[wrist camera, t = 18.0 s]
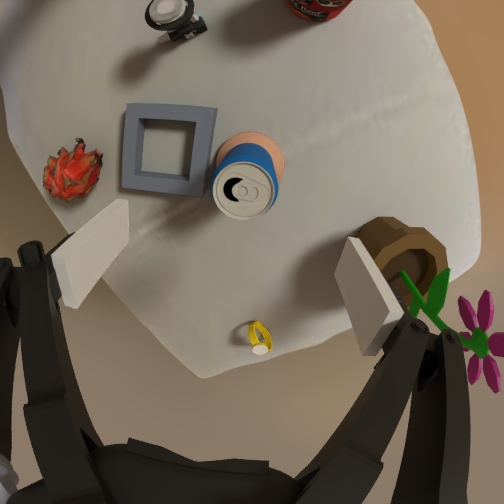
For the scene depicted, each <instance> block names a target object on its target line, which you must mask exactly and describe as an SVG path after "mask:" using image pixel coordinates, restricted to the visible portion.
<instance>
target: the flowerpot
mask: <svg viewBox="0 0 504 504" xmlns="http://www.w3.org/2000/svg"><path fill="white" fill-rule="evenodd" d="M355 238H358V239H360V241H361V242H362V244H363V245H364V247H365V248H366V250H367V251H368V253H369V255H370V256H371V258H372V259H373V261H374V262H375V264H376V266H377V267H378V269H379V270H380V272H381V274H382V275H383V277H384V279H385V280H386V282H387V283H390V284H391V285H392V286H393V287H394V288H395V289H396V290H397V292H398V293H399V295H400V297H401V298H402V300H403V302H404V303H405V305H406V307H407V309H408V310H409V312H410V314H411V316H412V317H413V318H416V317H417V315H418V313H419V309H422V311H423V312H424V313H425V314H426V315H427V316H428V317H429V318H430V319H431V321H432V322H433V323H434V324H435V325H436V326H437V327H438V328H439V329H440V331H441V332H442V330H443V329H446V328H447V329H451V328H450V327H448V326H447V325H446V324H445V323H444V322H443V321H442V320H441V319H440V318H439V317H438V316H437V315H438V313H439V312H440V310H441V309H442V308H443V306H444V302H445V298H446V293H447V289H448V283H449V276H450V270H451V269H450V268H448V263H447V256H446V249H445V247H444V246H443V245H442V244H441V243H440V242H439V241H438V240H437V239H436V238H435V237H434V236H433V235H432V234H430V233H429V232H428V231H427V230H426V229H425V228H421V227H408V226H407V225H405V224H404V223H402V222H401V221H399V220H397V219H396V218H394V217H377V218H375V219H373V220H372V221H370V222H368V223H366V224H364V226H363V227H362V229H361V230H360V231H359V233H358V234H357V236H356V237H355ZM458 305H459V312H460V315H461V318H462V320H463V322H464V324H465V326H466V328H468V329H469V330H471V331H472V336H471V335H470V333H469V332H460V333H457V332H456V331H455V332H456V333H457V334H458V336H459V337H460V339H461V342H462V347H463V351H466V352H467V351H469V350H472V351H473V352H475V354H474V355H473V356H472V357H471V358H470V360H469V364H468V369H467V372H468V381H469V382H470V384H471V385H473V384H474V383H475V382H476V381H477V380H478V379H479V377H480V374H481V370H482V363H481V358H482V359H483V372H484V375H485V378H486V381H487V384H488V386H489V387H490V388H491V389H492V390H493V392H494V393H497V392H499V391H500V386H501V385H500V384H501V375H500V372H499V369H498V366H497V363H496V361H495V360H494V359H493V358H492V357H491V356H490V355H488V353H489V350H490V351H491V353H492V354H493V355H494V356H499V357H504V332H501V333H500V332H499V333H498V332H496V333H494V334H492V335H491V336H490V337H489V338H488V336H487V333H486V331H487V330H488V328H489V327H490V326H491V325H492V320H493V313H494V305H493V301H492V296H491V293H490V292H489V291H487V290H485V291H484V292H483V294H482V296H481V298H480V300H479V302H478V311H477V319H478V323H479V327H477V320H476V314H475V312H474V310H473V308H472V306H471V304H470V302H469V301H468V300H466V299H465V298H464V297H462V296H460V297H459V299H458ZM451 330H453V329H451ZM453 331H454V330H453Z"/></svg>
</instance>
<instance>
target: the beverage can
mask: <svg viewBox="0 0 504 504" xmlns="http://www.w3.org/2000/svg"><path fill="white" fill-rule="evenodd" d="M210 187H211V194H212V198H213V200H214V202H215V204H216V205H217V206H218V208H219V209H220V210H221V211H222V212H223V213H224V214H226V215H227V216H229V217H231V218H234V219H237V220H251V219H255V218H257V217H259V216H261V215H263V214H264V213H266V212H267V211H268V210H269V209H270V208H271V207H272V205H273V204H274V202H275V200H276V198H277V195H278V180H277V176H276V172H275V168H274V164H273V160H272V157H271V155H270V154H269V152H268V151H267V150H266V149H265V148H263V147H262V146H260V145H258V144H255V143H242V144H239V145H237V146H235V147H233V148H232V149H231V150H230V151H229V152H228V153H227V155H226V156H225V157H224V159H223V160H222V162H221V163H220V164H219V166H218V167H217V168H216V170H215V171H214V173H213V176H212V179H211V186H210Z"/></svg>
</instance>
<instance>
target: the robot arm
mask: <svg viewBox="0 0 504 504" xmlns="http://www.w3.org/2000/svg"><path fill="white" fill-rule="evenodd" d="M128 242H129V215H128V200H124V199H116V200H115V201H114V202H112V203H111V204H110V205H108V206H107V207H106V208H105V209H103V210H102V211H101V212H100V213H98V214H97V215H96V216H95V217H93V218H92V219H91V220H90V221H89V222H87V223H86V224H85V225H84V226H83V227H81V228H80V229H79V230H78V231H77V232H74V233H72V234H69V235H67V236H66V237H65V238H64V239H63V240H62V241H61V242H59V243H58V244H57V246H55V247H54V248H53V249H51V250H50V251H49V252H48V253H47V254H46V255H45V254H44V249H43V245H42V243H41V242H40V241H30V242H27V243H25V244H23V245H21V246H20V248H19V249H18V251H17V252H18V256H19V259H20V263H21V267H13V264H12V261H11V259H10V258H7V257H4V258H0V504H362V502H363V501H364V499H365V498H366V496H367V495H368V493H369V492H370V490H371V488H372V487H373V485H374V483H375V482H376V480H377V478H378V477H379V475H380V473H381V471H382V469H383V463H382V462H381V457H382V455H383V453H384V452H385V450H386V448H387V446H388V444H389V442H390V440H391V438H392V436H393V434H394V432H395V429H396V427H397V425H398V423H399V421H400V418H401V416H402V414H403V411H404V409H405V406H406V404H407V402H408V399H409V397H410V394H411V391H412V398H411V399H412V400H411V407H410V417H409V423H408V430H407V436H406V442H405V448H404V452H403V457H402V462H401V466H400V470H399V474H398V478H397V482H396V486H395V489H394V493H393V496H392V500H391V504H468V502H467V493H466V489H467V481H468V473H469V460H470V406H469V405H470V404H469V391H468V381H467V373H466V365H465V359H464V352H463V347H462V342H461V339H460V337H459V336H458V334H457V333H456V332H455V331H453V330H451V329H447V328H446V329H443V330H442V332H441V333H440V334H439V335H435V334H433V333H430V332H429V328H428V327H427V325H426V324H425V323H424V322H423V321H421V320H419V319H417V318H413V317H412V316H411V314H410V312H409V310H408V309H407V307H406V305H405V303H404V302H403V300H402V298H401V297H400V295H399V293H398V292H397V290H396V289H395V288H394V287H393V286H392V285H391V284H390V283H387V282H386V280H385V279H384V277H383V275H382V274H381V272H380V270H379V269H378V267H377V266H376V264H375V262H374V261H373V259H372V258H371V256H370V255H369V253H368V251H367V250H366V248H365V247H364V245H363V244H362V242H361V241H360V239H358V238H354V237H349V236H348V238H347V240H346V243H345V246H344V249H343V252H342V254H341V257H340V260H339V262H338V265H337V267H336V270H335V273H334V276H335V279H336V282H337V284H338V287H339V290H340V292H341V295H342V298H343V300H344V303H345V306H346V309H347V312H348V314H349V317H350V320H351V323H352V326H353V329H354V332H355V335H356V338H357V341H358V344H359V347H360V350H361V353H362V355H363V356H376V355H377V353H378V352H379V350H380V349H381V348H382V349H383V351H384V355H383V356H382V357H381V359H380V360H379V361H378V363H377V364H376V366H375V367H374V369H375V370H374V372H373V373H372V375H371V377H370V378H369V380H368V382H367V383H366V385H365V387H364V388H363V390H362V392H361V393H360V395H359V397H358V398H357V400H356V401H355V403H354V404H353V406H352V407H351V409H350V410H349V412H348V413H347V415H346V416H345V418H344V419H343V421H342V422H341V423H340V425H339V427H338V428H337V429H336V431H335V432H334V433H333V435H332V436H331V437H330V439H329V440H328V441H327V443H326V444H325V445H324V446H323V448H322V449H321V450H320V451H319V453H318V454H317V455H316V456H315V458H314V459H313V460H312V461H311V462H310V464H308V466H307V467H305V468H304V469H303V470H302V471H301V472H300V473H299V474H298V475H297V476H296V477H295V478H292V477H290V476H289V475H287V474H285V473H283V472H281V471H279V470H276V469H273V468H270V467H269V461H261V460H244V459H227V460H216V461H205V462H204V461H203V462H197V461H193V460H190V459H188V458H185V457H183V456H181V455H179V454H176V453H174V452H172V451H170V450H168V449H166V448H164V447H161V446H158V445H154V444H149V443H146V442H142V441H139V440H135V439H132V438H129V439H128V442H127V444H114V445H107V446H104V445H103V443H102V441H101V440H100V438H99V436H98V435H97V433H96V431H95V429H94V427H93V425H92V422H91V420H90V417H89V415H88V412H87V409H86V407H85V404H84V401H83V399H82V396H81V392H80V390H79V386H78V383H77V380H76V377H75V373H74V370H73V366H72V363H71V359H70V355H69V351H68V347H67V343H66V338H65V334H64V329H63V324H62V318H61V313H60V307H59V304H58V300H59V298H60V297H61V296H62V298H63V301H64V305H65V306H68V307H71V308H74V309H78V307H79V306H80V305H81V303H82V302H83V300H84V299H85V297H86V296H87V295H88V293H89V292H90V291H91V289H92V288H93V286H94V285H95V284H96V282H97V281H98V280H99V278H100V277H101V276H102V275H103V273H104V272H105V271H106V269H107V268H108V267H109V266H110V264H111V263H112V262H113V260H114V259H115V258H116V257H117V255H118V254H119V253H120V252H121V251H122V249H123V248H124V247H125V246H126V244H127V243H128ZM20 338H21V352H22V361H23V371H24V378H25V385H26V391H27V396H28V404H24V407H23V410H24V417H25V421H26V426H27V430H28V434H29V437H30V441H31V445H32V448H33V451H34V454H35V457H36V460H37V463H38V466H39V469H40V472H41V474H42V477H43V479H41V480H39V481H37V482H35V483H33V484H31V485H29V486H27V487H24V488H23V489H20V490H17V487H16V485H17V484H18V482H19V478H18V475H17V473H16V472H15V471H14V470H13V467H12V465H11V464H10V461H11V449H12V434H11V433H12V431H11V416H12V393H13V381H14V371H15V363H16V357H17V351H18V345H19V339H20Z"/></svg>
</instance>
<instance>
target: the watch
mask: <svg viewBox="0 0 504 504" xmlns="http://www.w3.org/2000/svg"><path fill="white" fill-rule="evenodd" d="M255 327H256V328H257V329H258V330H259V331H260V332H261V333H262V335H263V337H264V340H265V343H262V342H259V340H258V338H257V335H256V332H255ZM248 335H249V339H250V341H251V343H252V345H253V347H252V351H253V352H254V353H255V354H257V355H263V354H266V353H267V352H269V351H271V349H272V339H271V336H270V334H269V332H268V330H267V329H266V328H265V327H264V326H263V325H262V324H261V323H260V321H255V322H253V323H251V324H250V325H249V327H248Z"/></svg>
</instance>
